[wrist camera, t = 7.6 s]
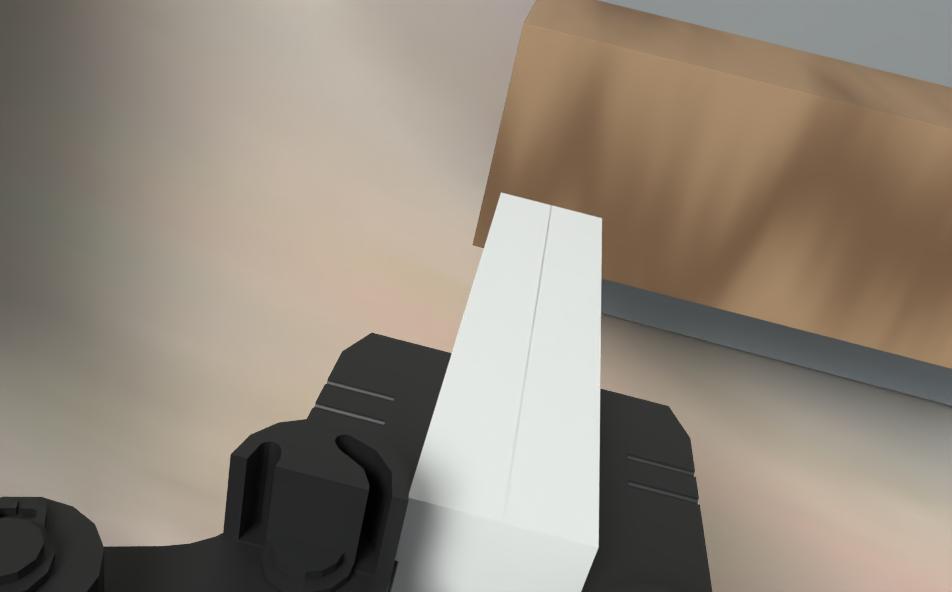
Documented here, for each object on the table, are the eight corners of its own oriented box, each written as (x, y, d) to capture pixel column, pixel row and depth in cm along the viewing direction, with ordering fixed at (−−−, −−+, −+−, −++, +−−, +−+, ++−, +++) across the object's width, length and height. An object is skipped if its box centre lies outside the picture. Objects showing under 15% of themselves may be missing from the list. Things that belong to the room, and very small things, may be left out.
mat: (1100, 435, 25) (1111, 448, 25) (514, 280, 26) (512, 289, 25) (1397, 31, 19) (1419, 35, 19) (632, -158, 20) (633, -158, 19)
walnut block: (500, 171, 24) (961, 289, 23) (472, 245, 19) (1040, 391, 19) (543, -14, 21) (1059, 114, 21) (523, 22, 17) (1177, 184, 16)
